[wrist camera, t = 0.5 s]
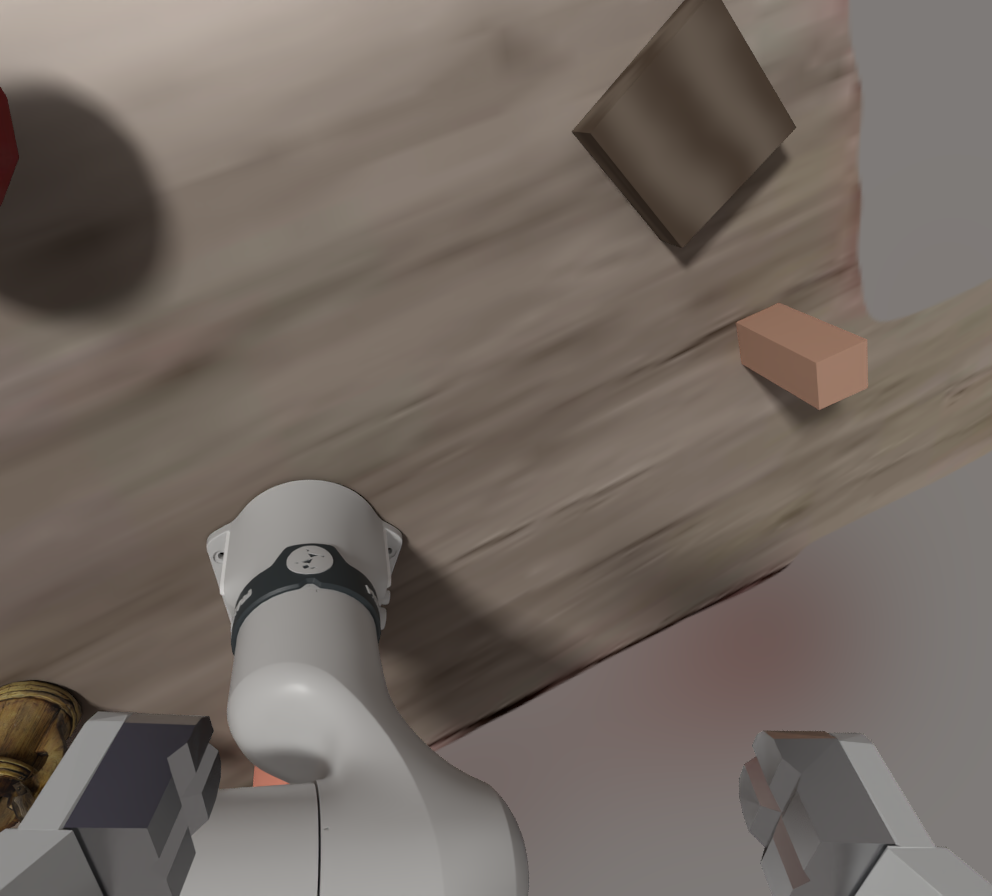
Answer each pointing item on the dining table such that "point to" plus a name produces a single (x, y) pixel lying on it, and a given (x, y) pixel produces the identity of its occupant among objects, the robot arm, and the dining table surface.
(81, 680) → the dining table surface
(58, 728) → the wooden mug
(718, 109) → the walnut plinth
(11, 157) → the decorative mushroom
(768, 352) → the terracotta block
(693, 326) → the dining table surface
